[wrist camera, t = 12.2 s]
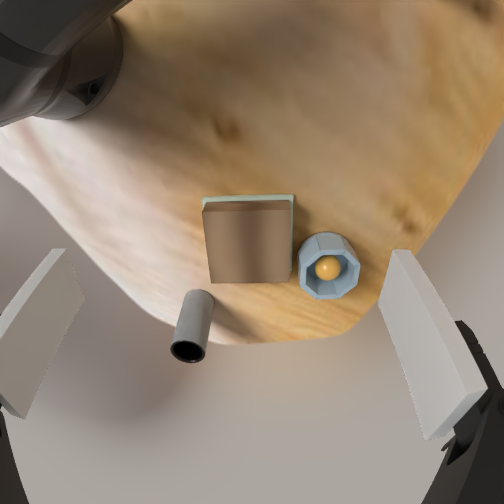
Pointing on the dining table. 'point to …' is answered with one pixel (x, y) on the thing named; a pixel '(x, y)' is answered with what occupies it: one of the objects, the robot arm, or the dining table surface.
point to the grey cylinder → (193, 327)
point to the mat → (256, 197)
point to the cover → (248, 241)
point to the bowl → (327, 266)
